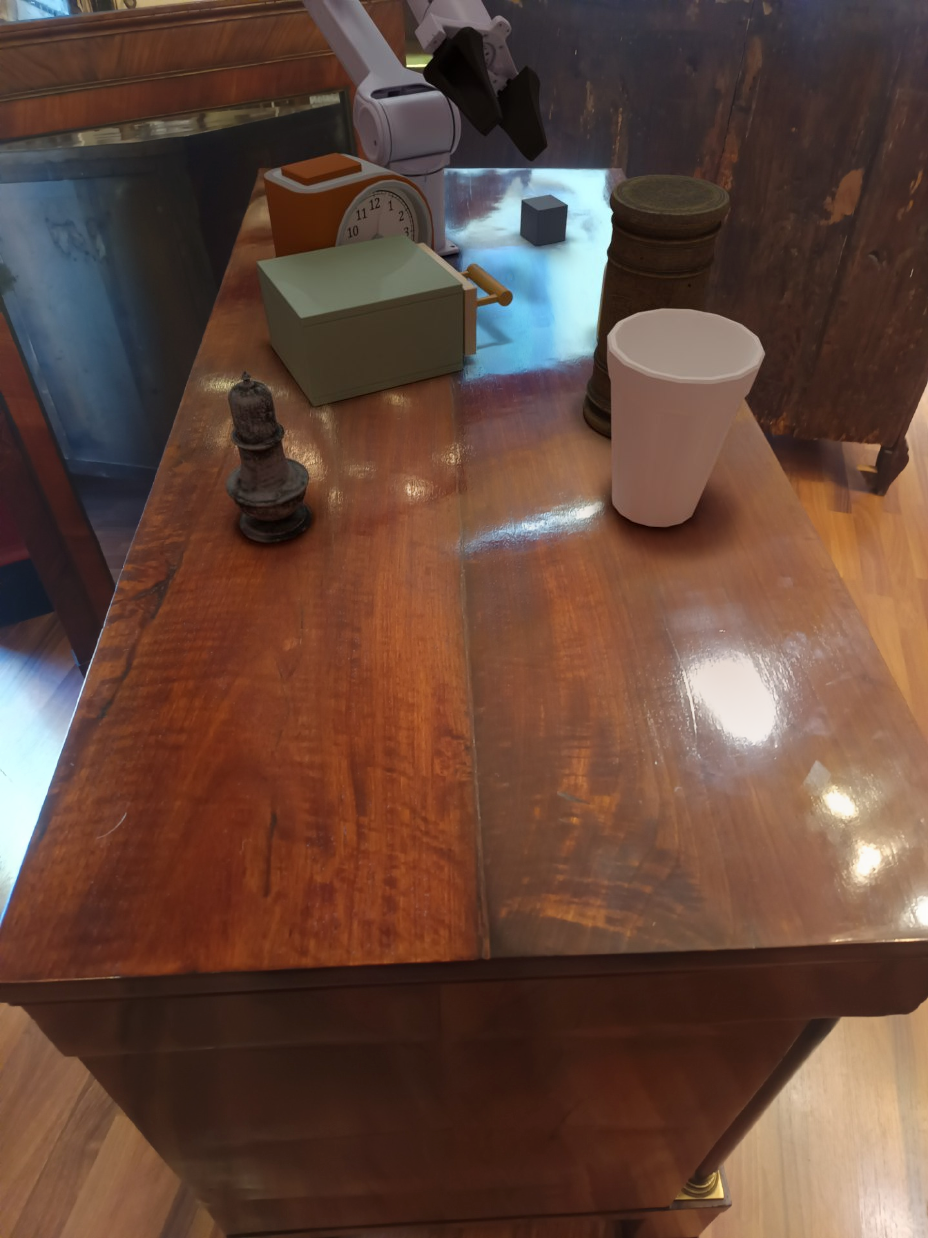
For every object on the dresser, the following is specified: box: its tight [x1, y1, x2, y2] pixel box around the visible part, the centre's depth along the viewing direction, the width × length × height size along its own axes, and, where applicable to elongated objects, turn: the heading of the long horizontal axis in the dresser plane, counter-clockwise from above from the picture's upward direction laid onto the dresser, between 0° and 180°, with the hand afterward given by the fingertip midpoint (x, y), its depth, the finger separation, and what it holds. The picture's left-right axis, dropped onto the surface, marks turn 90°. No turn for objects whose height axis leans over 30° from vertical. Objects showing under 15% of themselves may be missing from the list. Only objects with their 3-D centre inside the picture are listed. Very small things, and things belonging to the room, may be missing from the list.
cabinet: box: [255, 234, 464, 408], centre depth 75 cm, size 15×13×8 cm
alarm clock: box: [262, 152, 434, 258], centre depth 82 cm, size 15×8×14 cm, turn 132°
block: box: [519, 194, 569, 247], centre depth 97 cm, size 4×4×4 cm
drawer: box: [417, 243, 514, 357], centre depth 77 cm, size 18×11×6 cm, turn 116°
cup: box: [607, 309, 766, 528], centre depth 57 cm, size 10×10×13 cm
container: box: [582, 174, 731, 439], centre depth 64 cm, size 9×9×18 cm
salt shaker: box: [225, 370, 313, 544], centre depth 56 cm, size 6×6×12 cm
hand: (516, 140), depth 72 cm, fingers open, 7 cm apart
